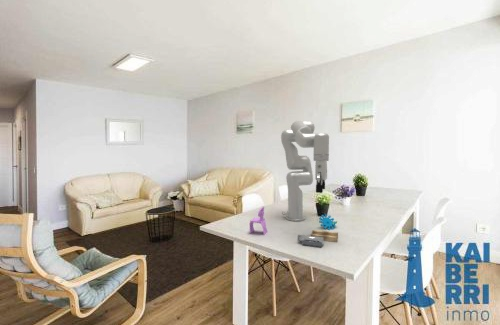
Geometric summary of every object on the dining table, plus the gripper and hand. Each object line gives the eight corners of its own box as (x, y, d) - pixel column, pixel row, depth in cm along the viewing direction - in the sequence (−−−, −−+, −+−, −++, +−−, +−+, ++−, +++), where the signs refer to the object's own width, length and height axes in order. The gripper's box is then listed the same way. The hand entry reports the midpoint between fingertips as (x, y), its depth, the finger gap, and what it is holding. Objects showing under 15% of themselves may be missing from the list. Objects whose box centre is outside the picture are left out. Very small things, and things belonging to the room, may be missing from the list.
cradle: (302, 246, 120) (302, 240, 120) (304, 241, 126) (304, 236, 126) (321, 248, 117) (321, 243, 116) (323, 243, 123) (323, 238, 123)
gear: (321, 228, 141) (318, 212, 147) (317, 233, 145) (314, 218, 152) (340, 230, 142) (336, 214, 149) (335, 234, 146) (332, 219, 153)
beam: (310, 239, 128) (310, 234, 128) (312, 234, 135) (312, 230, 135) (337, 242, 123) (337, 237, 123) (338, 237, 131) (338, 232, 130)
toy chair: (253, 229, 146) (253, 204, 145) (268, 231, 143) (267, 205, 142) (248, 234, 138) (248, 207, 138) (263, 236, 135) (263, 208, 134)
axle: (297, 241, 122) (297, 235, 122) (298, 240, 125) (298, 234, 125) (322, 244, 118) (323, 238, 118) (323, 243, 121) (323, 236, 121)
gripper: (326, 159, 119) (326, 194, 120) (330, 156, 134) (329, 188, 136) (310, 159, 122) (310, 193, 123) (316, 156, 137) (315, 187, 139)
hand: (320, 190), depth 130 cm, fingers open, 9 cm apart
